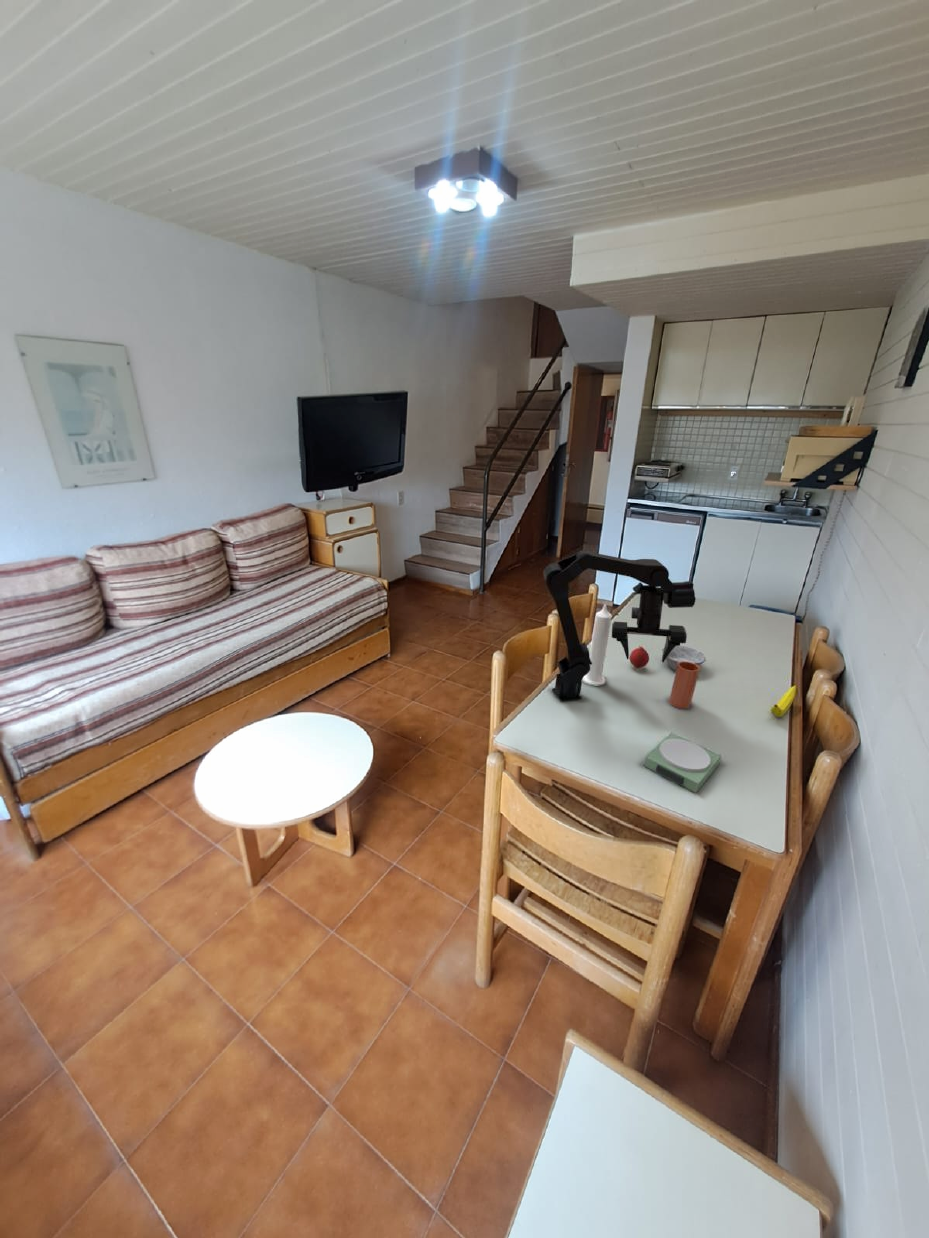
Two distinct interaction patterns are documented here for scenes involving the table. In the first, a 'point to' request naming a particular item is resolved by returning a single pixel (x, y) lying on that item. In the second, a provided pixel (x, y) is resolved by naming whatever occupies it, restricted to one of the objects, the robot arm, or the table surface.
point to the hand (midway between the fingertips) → (645, 660)
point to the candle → (598, 648)
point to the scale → (683, 761)
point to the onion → (639, 657)
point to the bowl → (684, 656)
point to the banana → (784, 703)
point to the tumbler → (684, 684)
